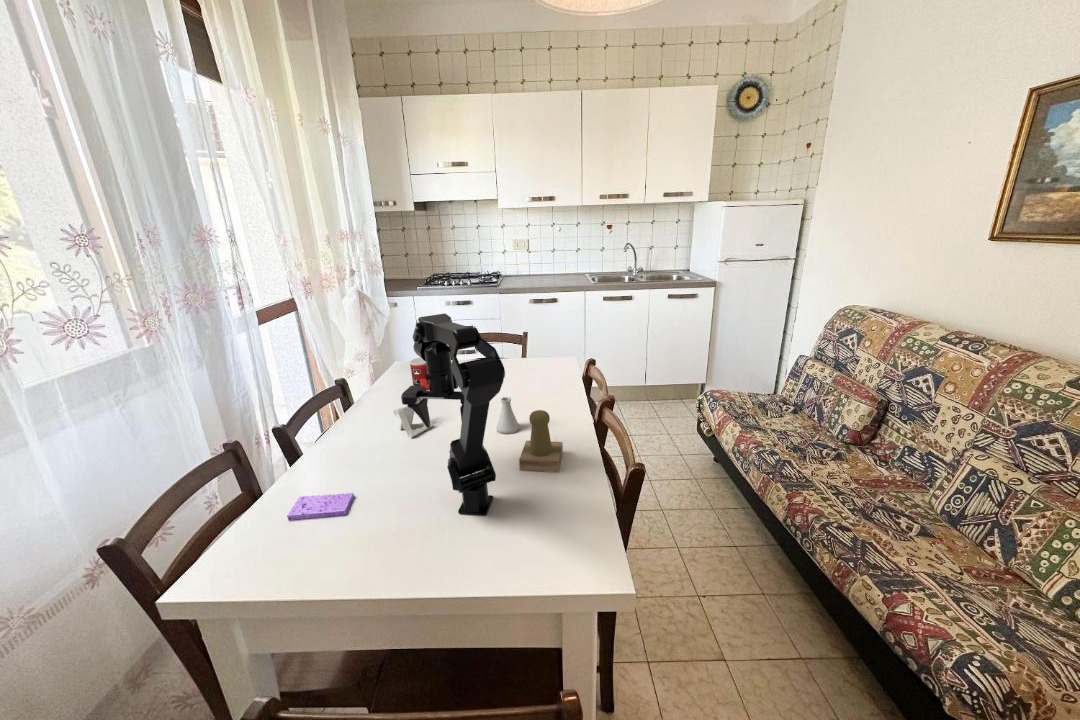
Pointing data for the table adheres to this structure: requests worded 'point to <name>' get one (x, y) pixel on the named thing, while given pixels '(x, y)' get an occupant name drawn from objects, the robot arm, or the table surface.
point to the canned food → (419, 372)
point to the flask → (507, 418)
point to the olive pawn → (540, 434)
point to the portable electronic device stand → (408, 421)
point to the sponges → (320, 506)
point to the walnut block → (541, 459)
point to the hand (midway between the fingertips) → (446, 427)
